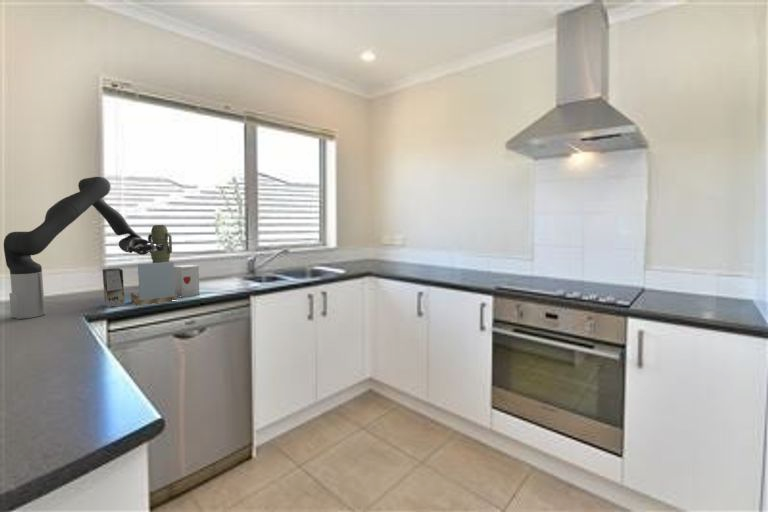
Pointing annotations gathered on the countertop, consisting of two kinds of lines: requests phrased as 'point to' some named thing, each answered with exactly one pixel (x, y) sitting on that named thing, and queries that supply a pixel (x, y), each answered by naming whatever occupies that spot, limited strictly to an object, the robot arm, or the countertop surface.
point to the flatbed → (136, 299)
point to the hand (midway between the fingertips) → (150, 249)
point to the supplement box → (186, 280)
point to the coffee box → (113, 287)
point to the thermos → (160, 237)
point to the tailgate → (156, 280)
